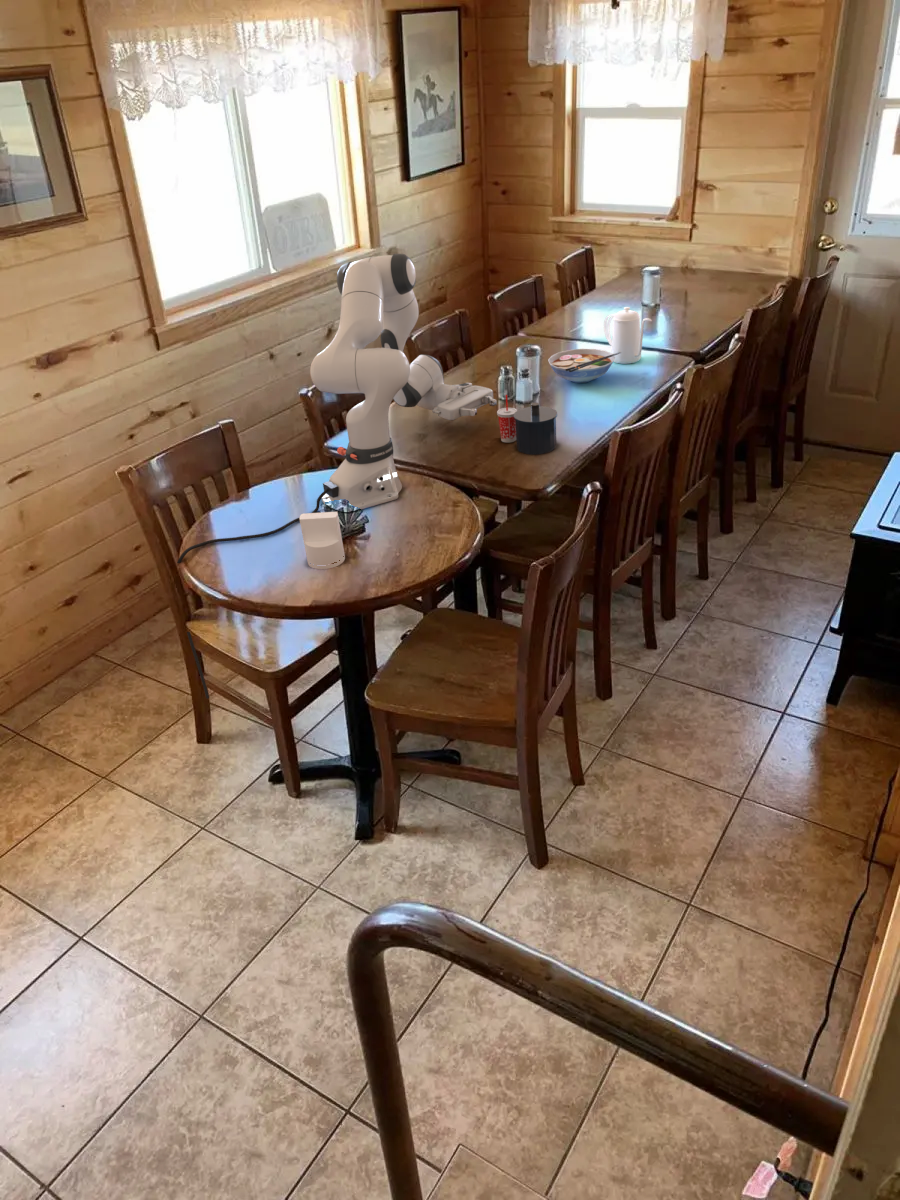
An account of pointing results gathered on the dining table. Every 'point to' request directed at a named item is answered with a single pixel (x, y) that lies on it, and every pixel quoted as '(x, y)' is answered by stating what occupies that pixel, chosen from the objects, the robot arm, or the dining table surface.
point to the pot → (536, 437)
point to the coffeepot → (625, 335)
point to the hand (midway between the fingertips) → (485, 407)
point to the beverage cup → (507, 423)
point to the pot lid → (535, 414)
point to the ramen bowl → (581, 364)
